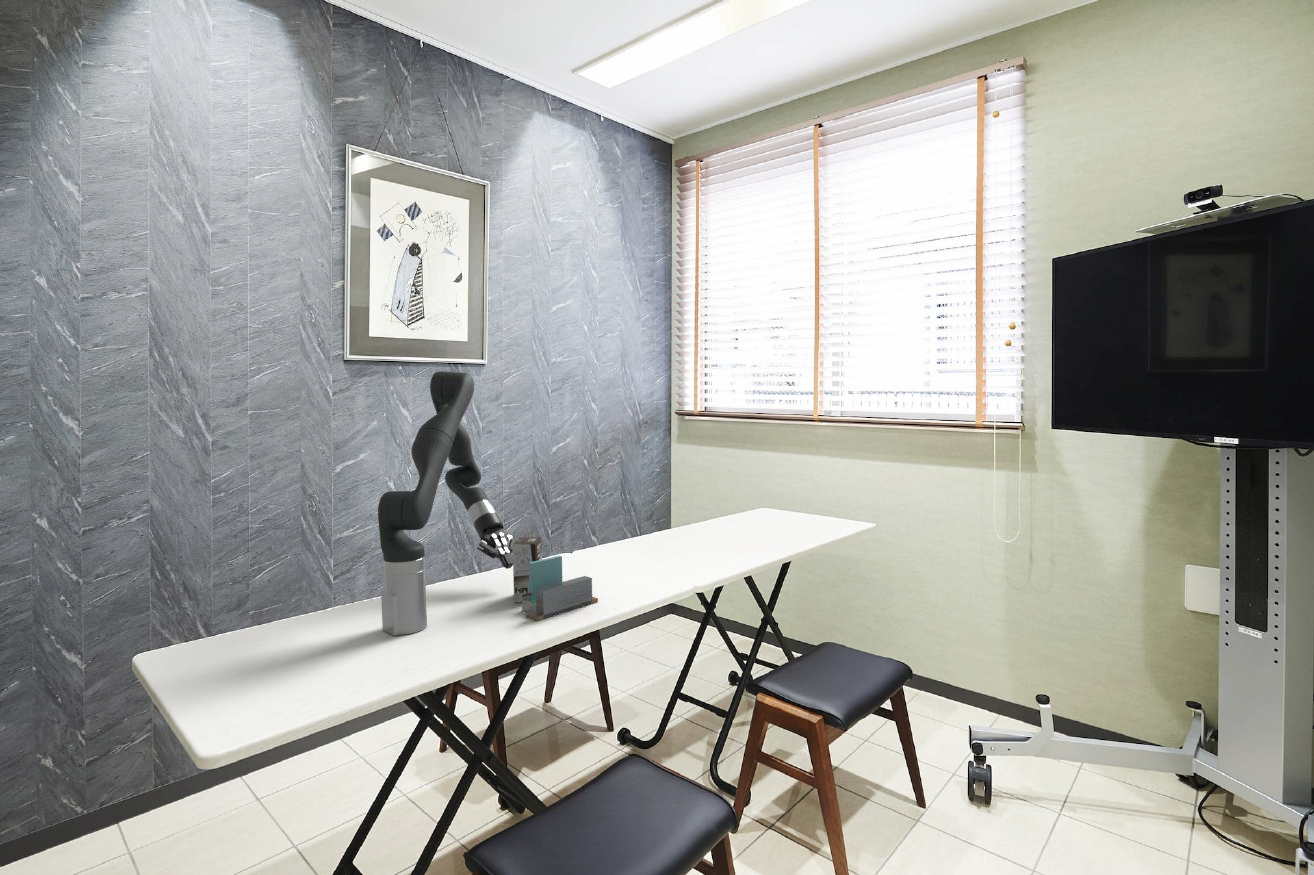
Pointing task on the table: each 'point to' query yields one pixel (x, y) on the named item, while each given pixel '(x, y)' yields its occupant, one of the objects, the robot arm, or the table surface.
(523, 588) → the coffee box
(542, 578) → the teal flat panel
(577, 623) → the table surface
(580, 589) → the grey piece
